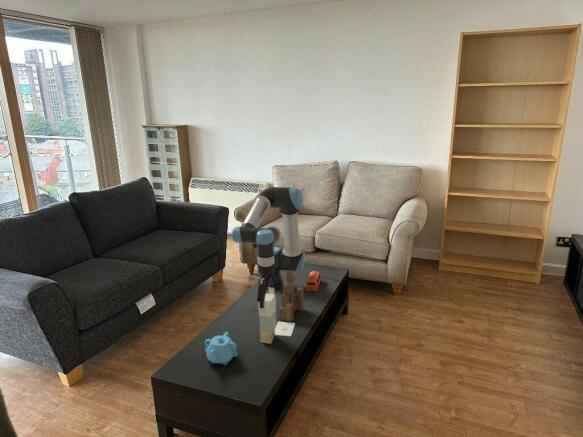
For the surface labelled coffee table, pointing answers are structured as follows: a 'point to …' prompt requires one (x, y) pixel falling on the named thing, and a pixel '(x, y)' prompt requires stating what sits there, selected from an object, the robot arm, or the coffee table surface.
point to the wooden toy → (290, 298)
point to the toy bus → (313, 281)
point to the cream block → (269, 305)
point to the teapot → (220, 349)
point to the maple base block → (267, 336)
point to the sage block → (268, 322)
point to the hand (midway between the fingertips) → (267, 306)
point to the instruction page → (284, 328)
